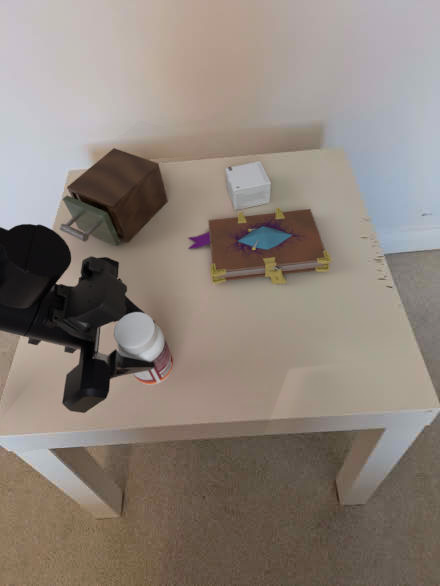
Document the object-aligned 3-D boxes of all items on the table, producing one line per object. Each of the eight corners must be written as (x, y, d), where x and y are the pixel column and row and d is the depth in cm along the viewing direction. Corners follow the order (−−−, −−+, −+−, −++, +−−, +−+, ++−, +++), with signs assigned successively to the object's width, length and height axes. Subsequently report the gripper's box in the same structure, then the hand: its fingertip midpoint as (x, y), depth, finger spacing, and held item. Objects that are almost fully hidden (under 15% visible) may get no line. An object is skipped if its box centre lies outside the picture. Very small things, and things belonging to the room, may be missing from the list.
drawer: (101, 262, 70) (85, 233, 63) (62, 243, 74) (44, 213, 67) (155, 206, 78) (146, 176, 71) (118, 192, 81) (106, 161, 75)
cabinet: (127, 243, 73) (112, 206, 66) (85, 224, 78) (66, 187, 70) (168, 201, 80) (158, 163, 72) (126, 185, 84) (113, 147, 76)
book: (187, 233, 75) (183, 214, 71) (309, 219, 74) (312, 199, 71) (189, 297, 65) (185, 279, 61) (331, 281, 64) (335, 262, 60)
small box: (270, 203, 77) (271, 183, 73) (234, 211, 76) (232, 191, 72) (260, 180, 81) (260, 160, 77) (225, 187, 81) (224, 167, 77)
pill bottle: (167, 342, 57) (152, 301, 48) (179, 377, 54) (164, 341, 45) (129, 355, 56) (105, 317, 47) (137, 392, 53) (114, 358, 44)
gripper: (45, 361, 31) (194, 392, 40) (74, 207, 41) (186, 259, 50) (2, 403, 37) (139, 422, 46) (37, 260, 48) (142, 298, 57)
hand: (153, 345), depth 50 cm, fingers closed on pill bottle, 6 cm apart
